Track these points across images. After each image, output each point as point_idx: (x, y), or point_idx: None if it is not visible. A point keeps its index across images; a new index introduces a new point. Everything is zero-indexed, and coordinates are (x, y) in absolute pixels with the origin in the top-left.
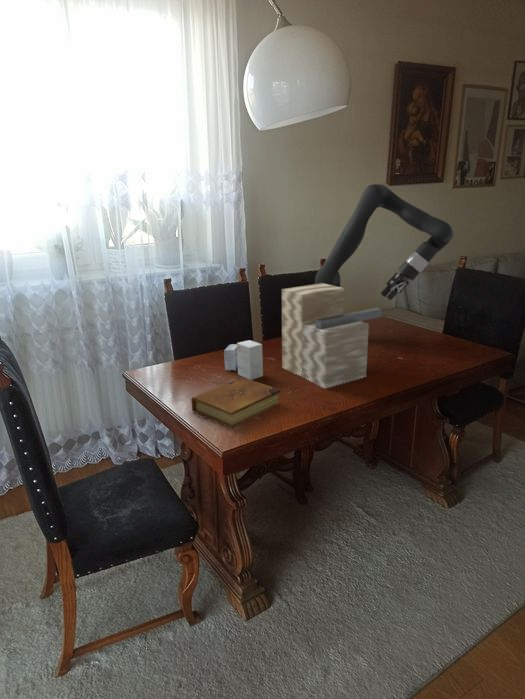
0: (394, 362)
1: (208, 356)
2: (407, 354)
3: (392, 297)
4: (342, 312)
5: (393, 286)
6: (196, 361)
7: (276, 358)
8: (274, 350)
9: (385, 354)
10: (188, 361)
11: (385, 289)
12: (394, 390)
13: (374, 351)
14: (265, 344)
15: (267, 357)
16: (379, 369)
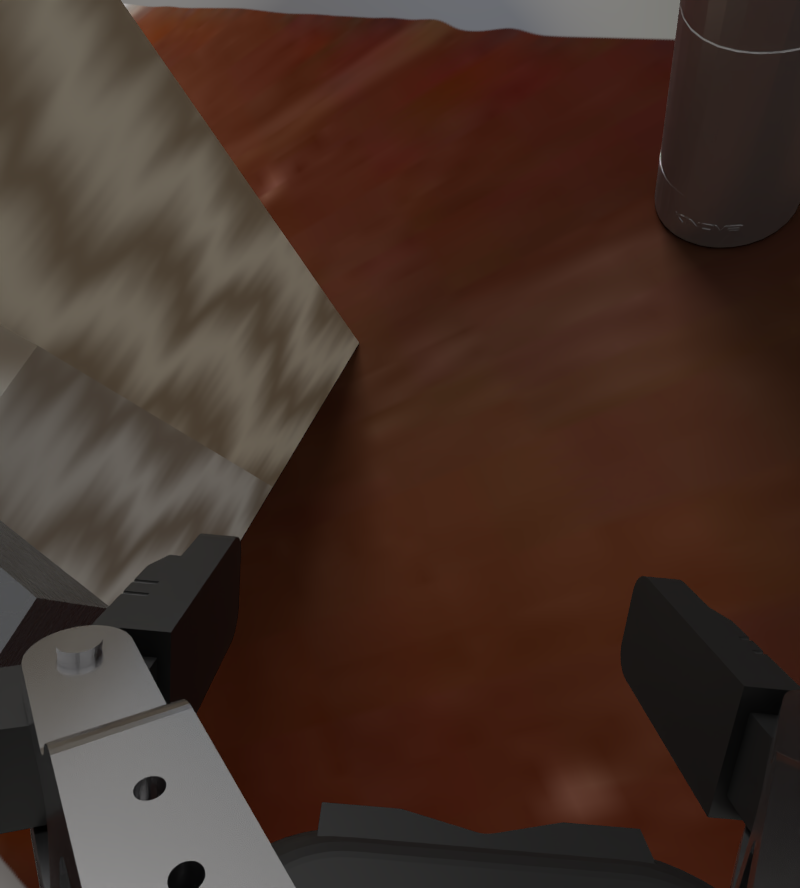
0: (463, 770)
1: (225, 28)
2: (710, 844)
3: (648, 705)
4: (2, 324)
5: (40, 876)
6: (171, 40)
7: (283, 199)
8: (379, 131)
9: (607, 661)
10: (165, 26)
11: (105, 625)
12: (32, 864)
13: (633, 565)
14: (443, 56)
15: (282, 167)
16: (299, 701)
